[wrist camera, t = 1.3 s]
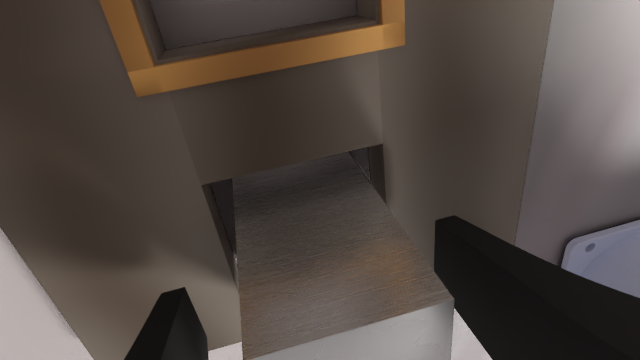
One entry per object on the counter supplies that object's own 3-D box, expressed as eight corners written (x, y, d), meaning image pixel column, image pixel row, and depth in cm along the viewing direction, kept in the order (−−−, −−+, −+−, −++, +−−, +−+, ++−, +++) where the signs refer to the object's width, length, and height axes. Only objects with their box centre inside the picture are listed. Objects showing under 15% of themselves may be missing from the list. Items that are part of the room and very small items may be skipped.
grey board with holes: (559, -355, 8) (631, -426, 7) (489, 242, 17) (514, 267, 15) (-300, -315, 6) (-461, -404, 5) (118, 344, 15) (106, 384, 13)
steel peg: (347, 150, 13) (454, 299, 7) (357, 240, 15) (447, 415, 9) (232, 176, 13) (243, 362, 7) (258, 265, 15) (285, 469, 9)
